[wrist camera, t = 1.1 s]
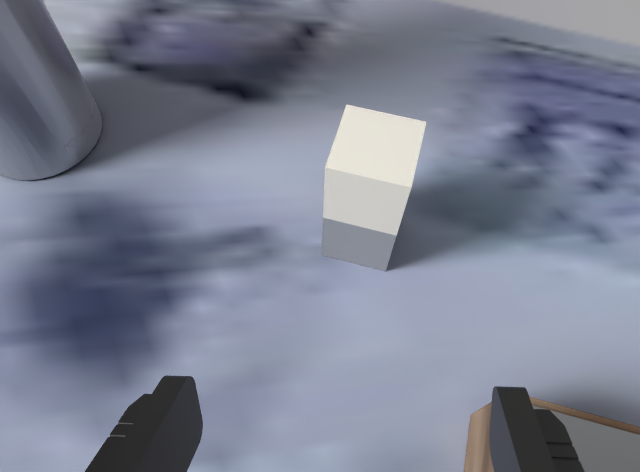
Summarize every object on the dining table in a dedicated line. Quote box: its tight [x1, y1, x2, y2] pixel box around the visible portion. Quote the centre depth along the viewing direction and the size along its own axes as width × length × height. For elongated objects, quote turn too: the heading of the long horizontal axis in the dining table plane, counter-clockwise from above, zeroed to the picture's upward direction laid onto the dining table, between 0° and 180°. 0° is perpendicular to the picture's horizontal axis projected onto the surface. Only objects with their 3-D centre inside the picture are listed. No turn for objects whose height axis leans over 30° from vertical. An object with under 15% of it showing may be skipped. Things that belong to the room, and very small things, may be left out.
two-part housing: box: [322, 104, 426, 271], centre depth 31 cm, size 4×4×10 cm
